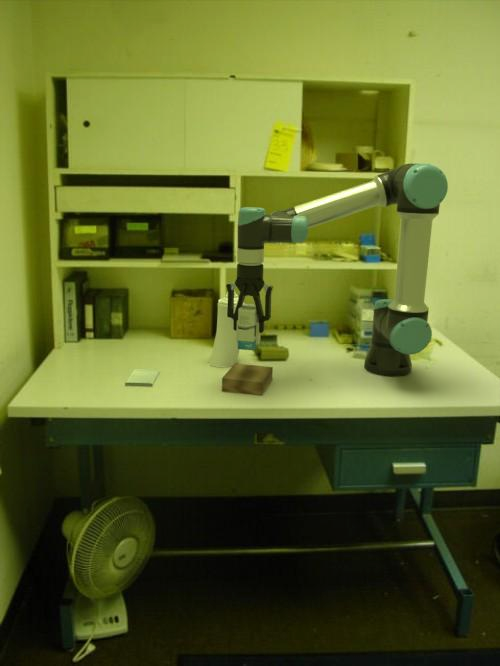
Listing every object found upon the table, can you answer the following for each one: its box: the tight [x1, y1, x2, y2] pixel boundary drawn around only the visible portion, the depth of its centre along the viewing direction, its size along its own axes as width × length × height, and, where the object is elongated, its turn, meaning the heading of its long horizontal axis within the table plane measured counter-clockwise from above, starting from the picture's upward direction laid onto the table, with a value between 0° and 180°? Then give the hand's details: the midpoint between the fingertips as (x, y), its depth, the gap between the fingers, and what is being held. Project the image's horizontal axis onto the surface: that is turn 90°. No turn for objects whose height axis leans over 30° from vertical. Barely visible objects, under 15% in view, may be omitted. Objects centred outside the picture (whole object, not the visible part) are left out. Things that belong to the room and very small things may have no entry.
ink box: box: [238, 303, 259, 351], centre depth 179 cm, size 8×5×12 cm, turn 168°
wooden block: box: [221, 362, 274, 396], centre depth 183 cm, size 12×14×4 cm
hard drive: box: [124, 368, 161, 388], centre depth 187 cm, size 2×8×12 cm
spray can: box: [209, 288, 246, 368], centre depth 201 cm, size 12×11×25 cm
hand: (248, 341), depth 180 cm, fingers closed on ink box, 5 cm apart
